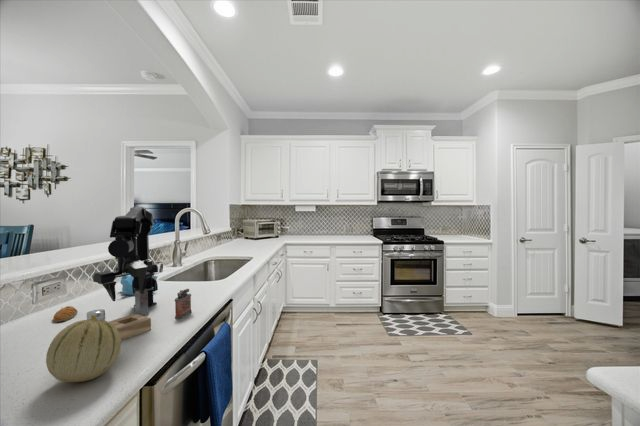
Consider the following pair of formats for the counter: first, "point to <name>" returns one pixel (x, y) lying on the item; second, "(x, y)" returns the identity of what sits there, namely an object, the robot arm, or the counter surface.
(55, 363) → the cantaloupe
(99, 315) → the cylinder
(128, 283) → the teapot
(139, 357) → the counter surface
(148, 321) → the socket block
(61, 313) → the pastry
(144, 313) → the square bit
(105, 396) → the counter surface
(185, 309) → the lighter
